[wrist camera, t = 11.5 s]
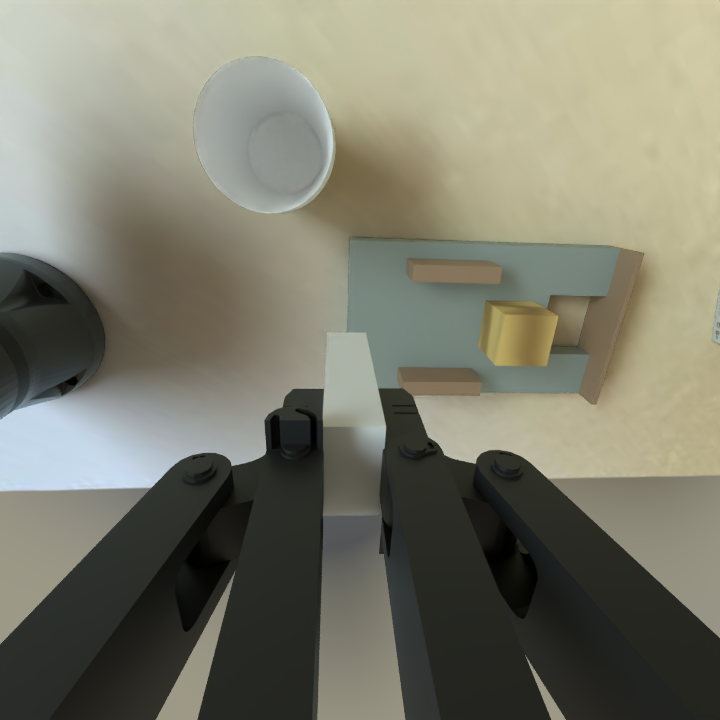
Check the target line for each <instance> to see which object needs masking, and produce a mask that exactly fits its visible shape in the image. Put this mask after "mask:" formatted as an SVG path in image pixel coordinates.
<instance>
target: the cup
mask: <svg viewBox="0 0 720 720" xmlns="http://www.w3.org/2000/svg"><path fill="white" fill-rule="evenodd" d="M193 132H194V141H195V146H196V150H197V154H198V157H199V160H200V162H201V164H202V166H203V168H204V170H205V172H206V174H207V175H208V177H209V179H210V180H211V181H212V183H213V184H214V185H215V186H216V187H217V188H218V190H219V191H220V192H221V193H223V194H224V195H225V196H226V197H227V198H229V199H230V200H231V201H233V202H234V203H236V204H238V205H240V206H242V207H244V208H246V209H249V210H252V211H256V212H261V213H272V214H280V213H287V212H292V211H295V210H297V209H300V208H302V207H304V206H305V205H307V204H308V203H310V202H311V201H312V200H313V199H315V198H316V197H317V196H318V194H319V193H320V192H321V191H322V189H323V188H324V187H325V185H326V183H327V182H328V179H329V177H330V175H331V172H332V169H333V165H334V160H335V152H336V141H335V133H334V128H333V124H332V120H331V118H330V115H329V113H328V111H327V108H326V106H325V105H324V103H323V101H322V99H321V97H320V95H319V94H318V92H317V91H316V89H315V88H314V87H313V85H312V84H311V83H310V82H309V81H308V80H307V79H306V78H305V77H304V76H303V75H302V74H301V73H300V72H298V71H297V70H296V69H294V68H293V67H291V66H289V65H288V64H286V63H284V62H281V61H279V60H276V59H272V58H268V57H261V56H251V57H244V58H240V59H237V60H234V61H231V62H230V63H228V64H226V65H224V66H223V67H221V68H220V69H219V70H217V71H216V72H215V73H214V74H213V75H212V76H211V77H210V78H209V80H208V81H207V83H206V84H205V86H204V87H203V89H202V91H201V93H200V95H199V98H198V101H197V104H196V108H195V112H194V121H193Z"/></svg>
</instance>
